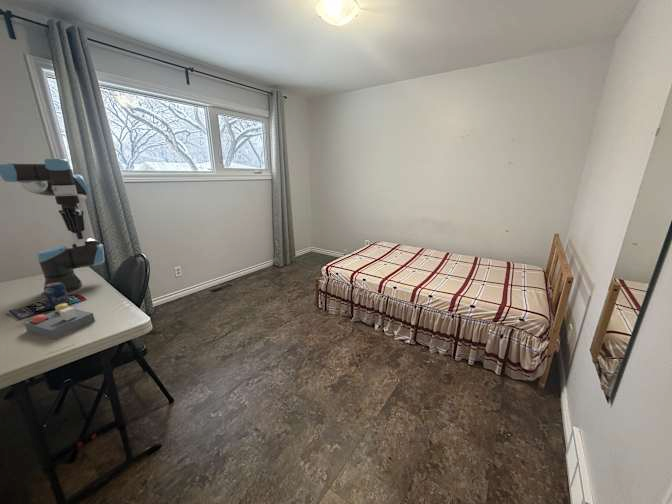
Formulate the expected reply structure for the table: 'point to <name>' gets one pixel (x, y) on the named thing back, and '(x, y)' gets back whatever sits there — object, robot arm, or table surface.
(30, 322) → the panel
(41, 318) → the button red
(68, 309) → the slider
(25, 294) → the table surface
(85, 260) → the robot arm
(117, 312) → the table surface
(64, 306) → the button ochre
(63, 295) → the soda can
